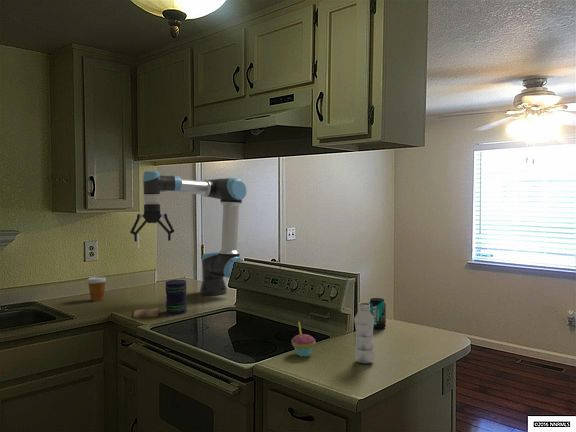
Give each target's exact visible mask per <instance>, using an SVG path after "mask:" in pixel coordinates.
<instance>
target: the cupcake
mask: <svg viewBox="0 0 576 432" xmlns="http://www.w3.org/2000/svg"><path fill="white" fill-rule="evenodd" d="M298 329H299V334H297V335H294V337H293V338H291V340H290V341H291V342H290V343H291V345H292V347H294V350H295V352H296V355H297V356H298V355H299V356H298V357H303V356H304V357H308V356H309V357H310V356H311V352H312V350H313V347H314V346H315V345H316V343H317V342H316V338H315V337H313V336H312V335H310V334H307V333H306V334H305V333H302V327H301V322H300V320H298Z"/></svg>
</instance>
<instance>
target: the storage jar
mask: <svg viewBox="0 0 576 432" xmlns="http://www.w3.org/2000/svg"><path fill="white" fill-rule="evenodd" d="M165 294H166V301H165V308H166V312H165V313H166V315H169V316H177V315H185V314H186V313H187V312H188V309H187V307H188V304H187V303H188V301H187V280H185V279H171V280H166V281H165Z"/></svg>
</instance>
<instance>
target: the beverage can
mask: <svg viewBox="0 0 576 432" xmlns="http://www.w3.org/2000/svg"><path fill="white" fill-rule="evenodd" d="M368 303H369V304H370V310H369V311H370V313H371V314H372V316H373V318H374V326H373V330H384V329H385V328H386V321H387V319H386V318H387V314H386V313H387V312H386V311H387V304H386V302H385V299H384V298H381V297H371V298H370V300H369V302H368Z"/></svg>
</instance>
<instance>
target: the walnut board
mask: <svg viewBox="0 0 576 432" xmlns="http://www.w3.org/2000/svg"><path fill="white" fill-rule="evenodd" d="M159 312H160V308H145V309H135V310H134V312H133V316H132V317H136V318H149V317H150V318H151V317H158V316H159Z"/></svg>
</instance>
